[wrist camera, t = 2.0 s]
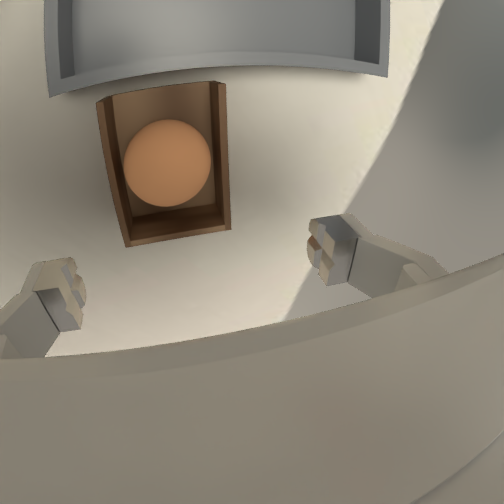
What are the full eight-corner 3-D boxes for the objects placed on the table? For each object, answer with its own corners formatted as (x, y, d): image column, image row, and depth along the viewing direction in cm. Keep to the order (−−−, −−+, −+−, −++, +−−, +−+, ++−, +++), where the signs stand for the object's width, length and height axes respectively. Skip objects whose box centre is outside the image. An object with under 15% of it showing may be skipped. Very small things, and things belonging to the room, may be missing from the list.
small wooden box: (128, 219, 20) (125, 247, 18) (107, 96, 15) (95, 103, 12) (220, 204, 22) (231, 229, 19) (214, 80, 17) (225, 83, 14)
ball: (135, 205, 19) (124, 221, 14) (125, 131, 17) (111, 123, 12) (209, 193, 20) (221, 205, 15) (201, 119, 18) (212, 107, 13)
